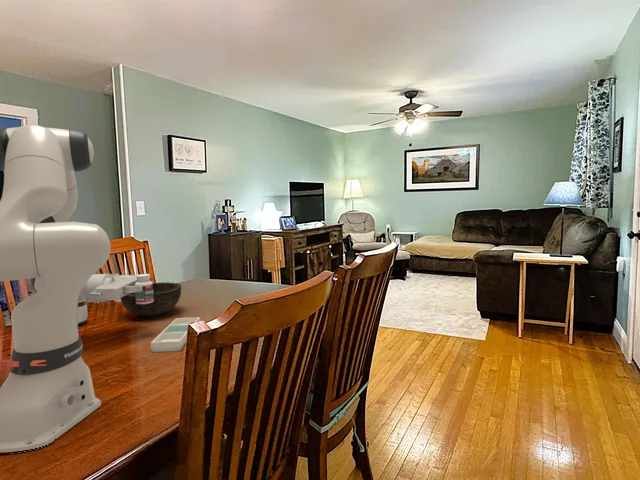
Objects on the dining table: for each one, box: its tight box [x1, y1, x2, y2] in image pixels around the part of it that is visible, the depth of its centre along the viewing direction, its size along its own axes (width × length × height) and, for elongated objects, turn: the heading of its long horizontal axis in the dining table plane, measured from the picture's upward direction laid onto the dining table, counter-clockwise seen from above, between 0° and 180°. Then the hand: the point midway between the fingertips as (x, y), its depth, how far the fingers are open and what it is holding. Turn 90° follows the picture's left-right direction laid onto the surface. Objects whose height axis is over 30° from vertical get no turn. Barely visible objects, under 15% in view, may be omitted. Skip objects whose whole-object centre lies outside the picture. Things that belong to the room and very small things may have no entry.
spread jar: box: [77, 301, 89, 327], centre depth 141 cm, size 12×11×12 cm
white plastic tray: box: [150, 316, 201, 353], centre depth 127 cm, size 23×8×3 cm, turn 2°
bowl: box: [120, 282, 182, 317], centre depth 154 cm, size 22×22×10 cm
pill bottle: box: [135, 273, 154, 304], centre depth 129 cm, size 5×5×9 cm
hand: (146, 286), depth 129 cm, fingers closed on pill bottle, 5 cm apart
